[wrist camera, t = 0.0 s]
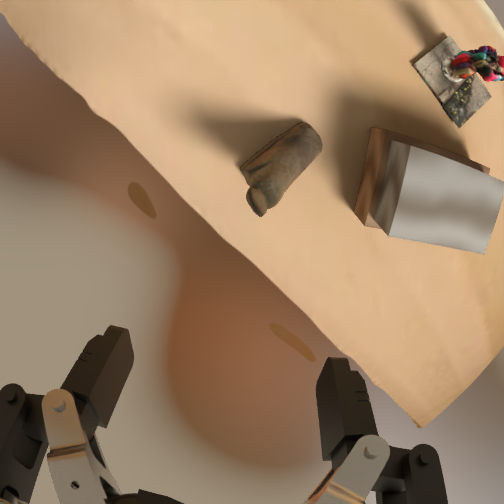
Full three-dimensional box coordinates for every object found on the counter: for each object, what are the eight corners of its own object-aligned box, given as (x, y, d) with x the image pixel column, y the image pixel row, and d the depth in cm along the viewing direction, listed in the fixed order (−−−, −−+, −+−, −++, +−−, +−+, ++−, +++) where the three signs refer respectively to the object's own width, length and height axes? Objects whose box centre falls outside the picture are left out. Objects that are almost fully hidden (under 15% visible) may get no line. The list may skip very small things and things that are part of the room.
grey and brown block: (371, 127, 32) (404, 133, 24) (470, 161, 33) (512, 178, 24) (353, 212, 38) (377, 243, 29) (451, 232, 38) (485, 261, 29)
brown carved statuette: (259, 186, 39) (224, 252, 26) (239, 157, 38) (191, 208, 24) (328, 150, 34) (333, 200, 21) (308, 117, 33) (300, 144, 19)
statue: (408, 67, 29) (459, 40, 15) (443, 38, 25) (496, 10, 12) (455, 128, 31) (518, 132, 17) (486, 97, 27) (548, 93, 14)
